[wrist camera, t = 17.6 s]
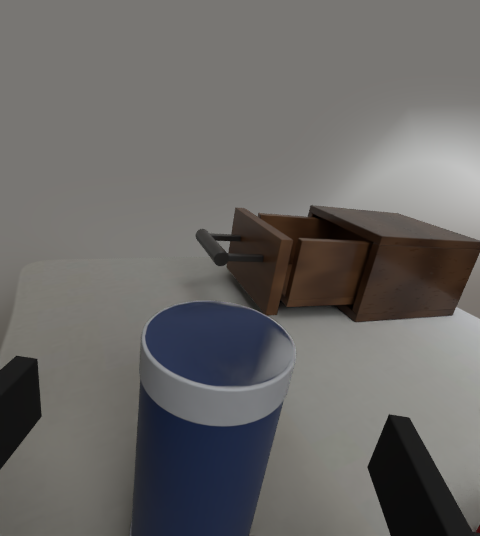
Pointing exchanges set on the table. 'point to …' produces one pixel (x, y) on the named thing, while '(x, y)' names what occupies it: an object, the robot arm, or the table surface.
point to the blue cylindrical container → (206, 417)
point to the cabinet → (405, 265)
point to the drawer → (291, 259)
